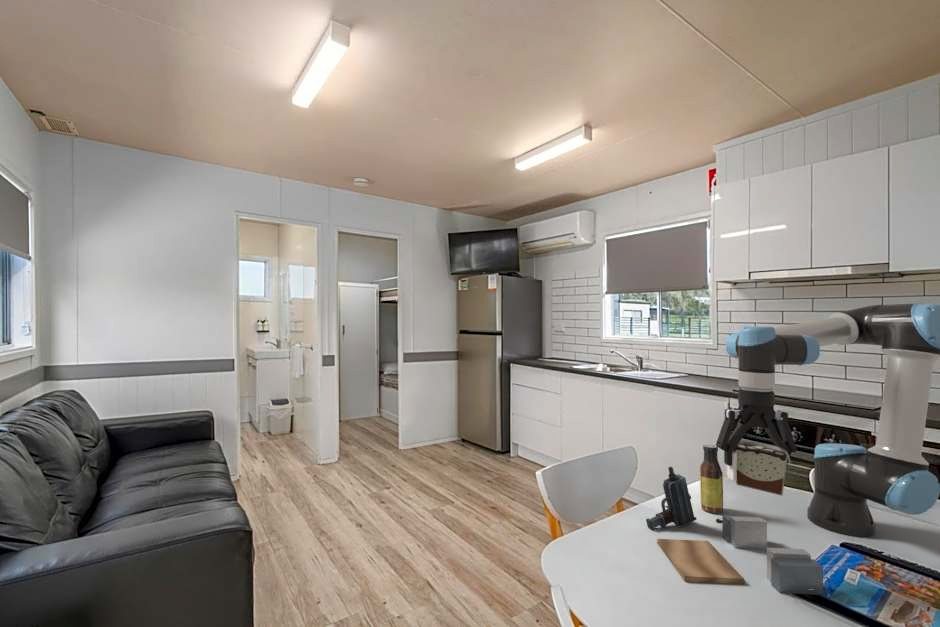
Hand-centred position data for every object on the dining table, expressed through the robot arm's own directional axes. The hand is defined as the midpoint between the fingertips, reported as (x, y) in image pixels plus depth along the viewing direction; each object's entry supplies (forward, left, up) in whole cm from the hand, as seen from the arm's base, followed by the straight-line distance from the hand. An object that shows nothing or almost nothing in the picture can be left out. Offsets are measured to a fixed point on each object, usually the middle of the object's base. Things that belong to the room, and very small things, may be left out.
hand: (755, 479), depth 107 cm
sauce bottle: (-4, -30, -20) cm, 37 cm away
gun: (+13, -18, -21) cm, 31 cm away
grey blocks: (-3, -2, -20) cm, 21 cm away
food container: (-1, 0, -2) cm, 2 cm away
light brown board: (+14, +1, -20) cm, 25 cm away
